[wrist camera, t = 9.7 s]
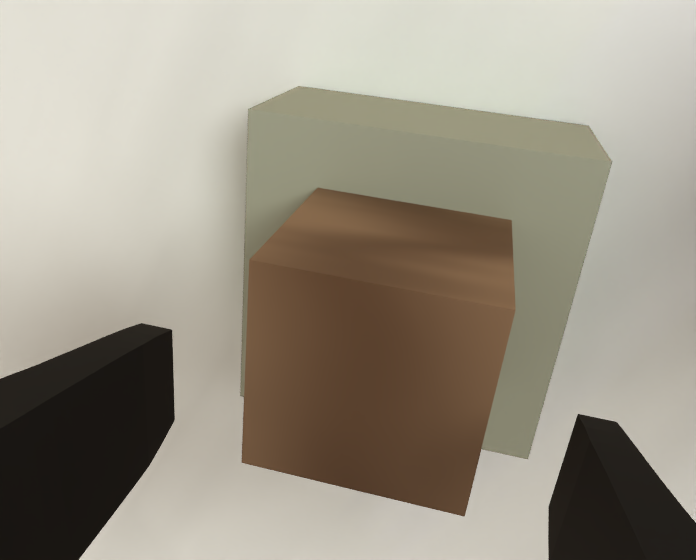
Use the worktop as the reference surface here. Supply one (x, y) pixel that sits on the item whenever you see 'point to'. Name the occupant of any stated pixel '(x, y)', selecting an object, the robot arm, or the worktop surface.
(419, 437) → the walnut cube
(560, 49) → the worktop surface
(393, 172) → the sage base block
